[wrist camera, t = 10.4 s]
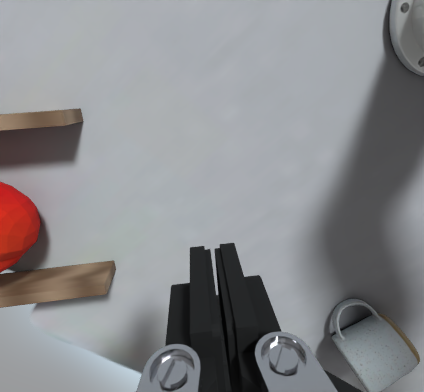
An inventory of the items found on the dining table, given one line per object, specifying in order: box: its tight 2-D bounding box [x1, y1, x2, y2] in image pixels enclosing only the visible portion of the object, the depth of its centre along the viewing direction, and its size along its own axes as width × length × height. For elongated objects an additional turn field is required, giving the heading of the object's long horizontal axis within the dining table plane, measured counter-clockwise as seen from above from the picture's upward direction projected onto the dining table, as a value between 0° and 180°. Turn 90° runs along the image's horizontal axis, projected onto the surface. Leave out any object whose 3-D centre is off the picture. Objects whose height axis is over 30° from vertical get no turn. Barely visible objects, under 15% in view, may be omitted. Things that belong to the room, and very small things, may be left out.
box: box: [0, 109, 116, 308], centre depth 27 cm, size 17×18×4 cm
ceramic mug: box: [332, 299, 420, 392], centre depth 37 cm, size 11×8×8 cm
